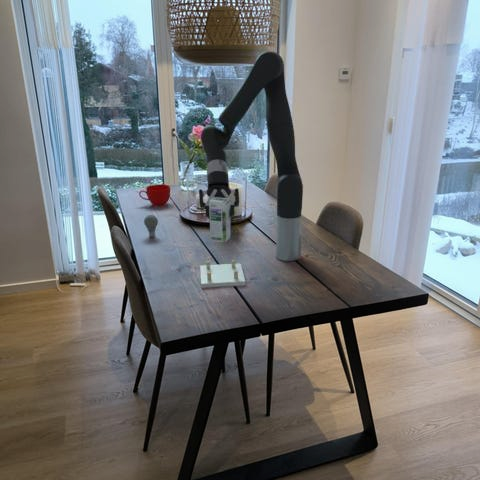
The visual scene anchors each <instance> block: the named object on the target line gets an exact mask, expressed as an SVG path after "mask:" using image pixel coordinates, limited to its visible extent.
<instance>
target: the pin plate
mask: <svg viewBox="0 0 480 480" xmlns="http://www.w3.org/2000/svg"><path fill="white" fill-rule="evenodd" d="M199 267H200V268H199V270H200V286H201V289H202V288H205V289H206V288H216V287H217V288H219V287H239V286H240V287H241V286H246V279H245V275H244V272H243V268H242V264H241V263H236V260H235V259H232V260H231V263H225V264H223V263H221V264H211V261H206V262H205V264H202V265H201V264H200V266H199Z"/></svg>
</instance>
